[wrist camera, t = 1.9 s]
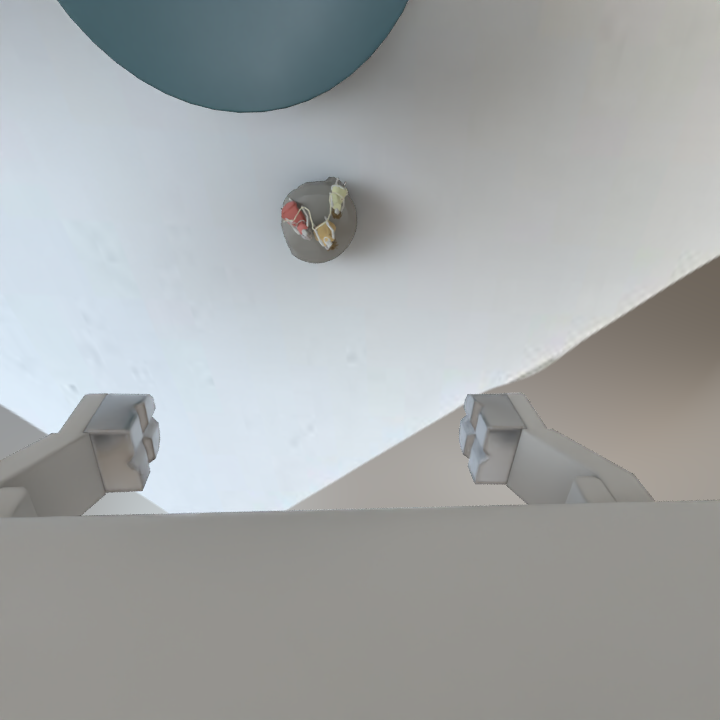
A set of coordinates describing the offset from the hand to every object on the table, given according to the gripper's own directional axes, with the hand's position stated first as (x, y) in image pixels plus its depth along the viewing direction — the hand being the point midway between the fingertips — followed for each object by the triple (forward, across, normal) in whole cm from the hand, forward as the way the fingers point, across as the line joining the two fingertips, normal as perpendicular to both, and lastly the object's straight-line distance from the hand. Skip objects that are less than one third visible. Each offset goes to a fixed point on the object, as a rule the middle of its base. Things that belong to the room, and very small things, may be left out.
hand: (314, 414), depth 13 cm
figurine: (+21, 0, 0) cm, 21 cm away
